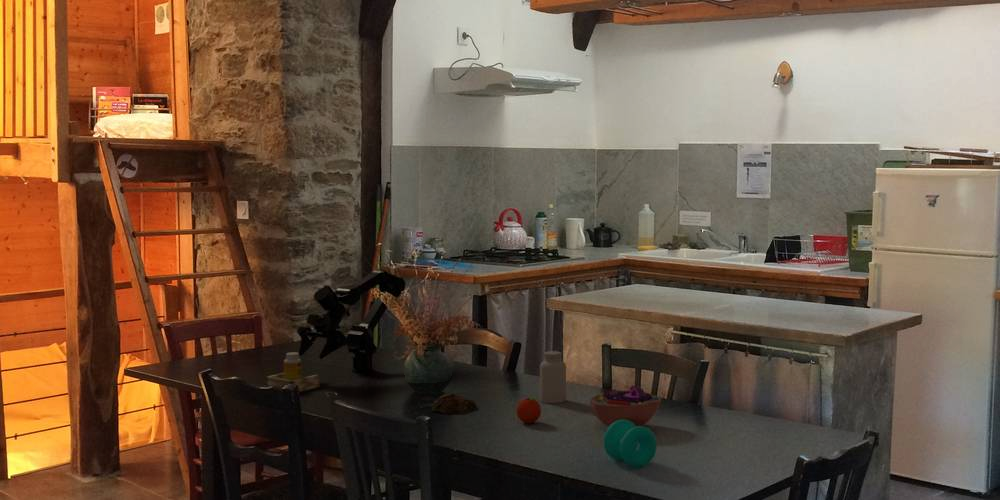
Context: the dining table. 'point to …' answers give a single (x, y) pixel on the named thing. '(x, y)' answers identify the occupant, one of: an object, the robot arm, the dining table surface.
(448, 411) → the bread roll
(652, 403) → the cell model
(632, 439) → the green spool
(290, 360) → the supplement bottle
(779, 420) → the dining table surface
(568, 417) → the dining table surface
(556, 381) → the pill bottle
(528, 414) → the tomato
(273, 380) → the caddy
